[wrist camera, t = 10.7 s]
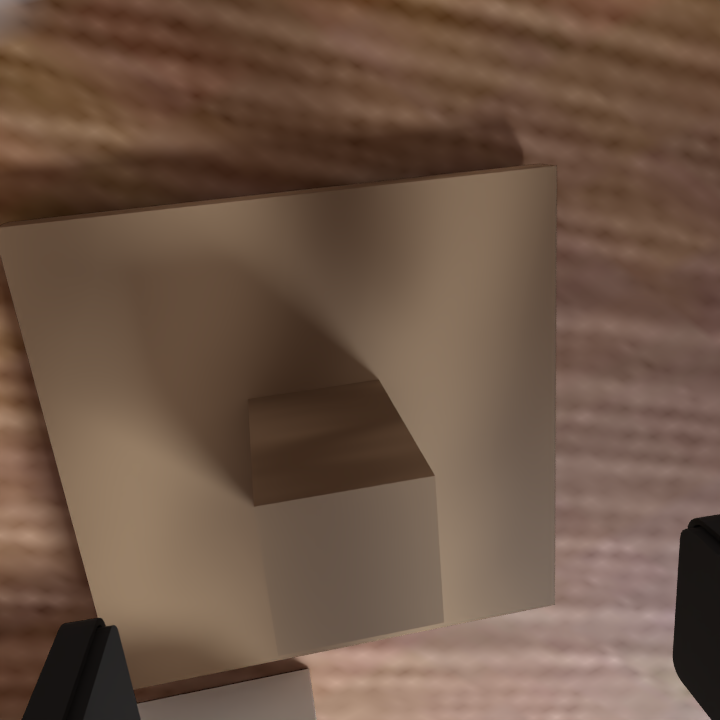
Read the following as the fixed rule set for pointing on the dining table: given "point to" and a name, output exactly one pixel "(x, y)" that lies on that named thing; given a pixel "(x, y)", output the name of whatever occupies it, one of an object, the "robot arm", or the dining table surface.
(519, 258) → the lid
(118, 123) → the dining table surface
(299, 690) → the box
